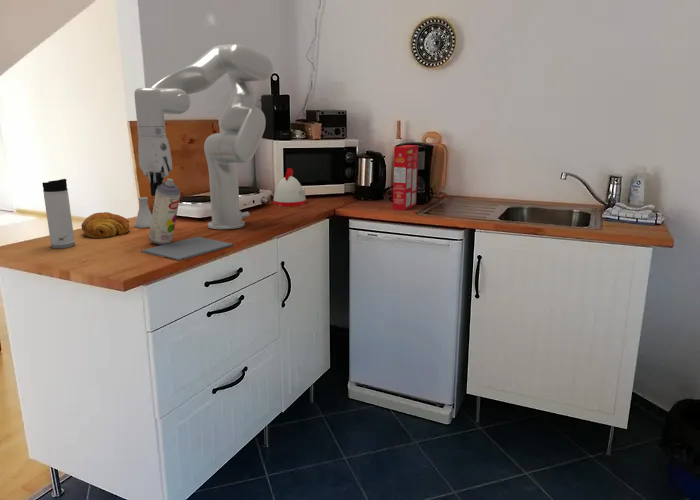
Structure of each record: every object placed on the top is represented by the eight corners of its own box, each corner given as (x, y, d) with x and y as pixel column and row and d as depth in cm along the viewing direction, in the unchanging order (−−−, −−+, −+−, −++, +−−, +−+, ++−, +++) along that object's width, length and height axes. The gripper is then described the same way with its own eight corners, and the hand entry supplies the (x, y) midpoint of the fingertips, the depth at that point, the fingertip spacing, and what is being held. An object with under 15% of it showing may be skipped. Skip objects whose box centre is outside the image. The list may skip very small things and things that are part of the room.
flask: (140, 229, 181) (137, 200, 179) (130, 226, 186) (127, 197, 183) (160, 226, 186) (158, 197, 184) (150, 223, 191) (147, 195, 188)
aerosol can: (165, 247, 160) (175, 187, 151) (144, 239, 160) (153, 179, 151) (176, 238, 166) (186, 180, 157) (156, 230, 166) (165, 172, 157)
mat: (197, 238, 169) (197, 236, 169) (233, 245, 160) (233, 243, 160) (142, 252, 153) (141, 250, 153) (178, 260, 144) (178, 258, 144)
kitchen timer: (309, 201, 236) (309, 167, 232) (300, 207, 223) (299, 170, 219) (280, 200, 239) (279, 166, 235) (268, 205, 226) (267, 169, 222)
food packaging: (404, 203, 231) (406, 144, 225) (416, 204, 229) (418, 145, 223) (392, 209, 218) (394, 147, 212) (404, 210, 216) (406, 147, 210)
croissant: (79, 246, 168) (75, 222, 164) (87, 229, 181) (83, 207, 178) (129, 242, 171) (125, 219, 168) (133, 225, 185) (129, 203, 182)
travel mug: (66, 249, 156) (57, 180, 150) (46, 248, 157) (36, 180, 151) (80, 244, 161) (72, 177, 156) (61, 243, 163) (51, 177, 157)
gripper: (179, 132, 153) (184, 196, 158) (147, 131, 162) (152, 191, 166) (156, 133, 147) (162, 199, 152) (124, 132, 156) (131, 194, 160)
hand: (157, 195), depth 159 cm, fingers closed
